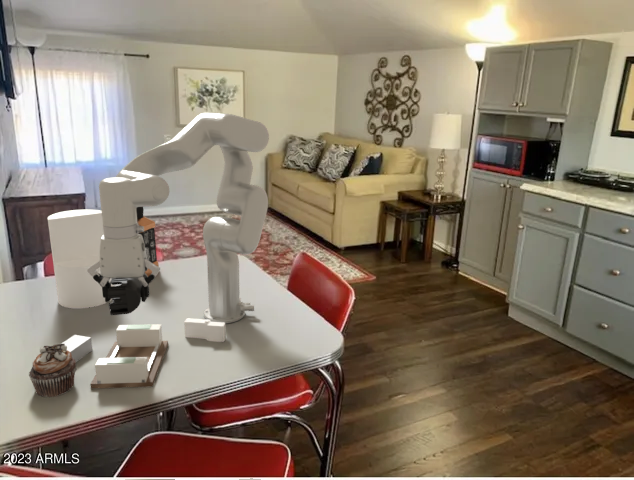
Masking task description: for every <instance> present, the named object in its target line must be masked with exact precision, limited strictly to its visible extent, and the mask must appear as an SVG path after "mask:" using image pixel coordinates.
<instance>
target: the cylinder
mask: <svg viewBox="0 0 634 480" xmlns="http://www.w3.org/2000/svg"><path fill="white" fill-rule="evenodd" d="M46 219H47V225H48V233H49V240H50V248H51V257H52V263H53V271H54V273H53V274H54V279H55V285H56V286H55V287H56V295H57V302H58V304H59V305H60V306H62V307H63V306H64V308H66V309H68V308H69V309H89V307H90V308H94V306H95V307H99V306H102V305H104V304H107V303H108V302H105V298H103V292H102V287H101V286H100V284H99V283H98V282H96V281H95V280H94V279H93V277H92V276H91V275H90V274H89V273H88V271H87V270H88V269H89V268H90V267H91V266H93V265H94V264H95V263H97V262H98V261H100V243H101V237H102V236H103V235H104V233H103V223H102V212H101V209H100V210H99V209H86V208H85V209H73V210H72V209H71V210H64V211H59V212H56V213H53V214H50V215H48V216H47V218H46ZM96 271H97V272H98V273H99V274H100V275H101V272H100V268H98V269H97V270H96ZM110 281H111V278H110V279H109V282H110ZM112 286H116V285H112V284H111V287H112ZM111 301H113V300H112V298H111V299H110V301H109V302H111Z"/></svg>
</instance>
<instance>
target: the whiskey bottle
mask: <svg viewBox="0 0 634 480" xmlns="http://www.w3.org/2000/svg"><path fill="white" fill-rule="evenodd" d="M136 212H137V222H138V225H139V226H144V232H139V233H138V234H141V235H142V237H143V240H144V244H145V249H146V255H147V260H148V261H150V262H151V263H153V264H155V265H156V266H158V267H160V266H159V260H158V256H157V245H156V235H155V234H156V233H155V228H156V222H155V220H153V219H151V218H149V217H146V216H145V215H144V207H137V208H136ZM145 273H146V275H147V276H149V275H150V274H151V273H152V270H150V269H147V271H145Z"/></svg>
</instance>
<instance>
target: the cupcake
mask: <svg viewBox="0 0 634 480" xmlns="http://www.w3.org/2000/svg"><path fill="white" fill-rule="evenodd" d="M76 370H77V362H75V359H73V358H72V354H71V353H70V352H69V351H68V350H67V346H65V344H61V343H57V344H53V345H44V346H42V347H40V349H39V354H37V355H36V358H35V359H34V360H33V362H32V366H31V369H30V371H29V372H28V376H29V379H30V380H31V383H32V385H33V388H34V390H35V393H36V395H38V396H39V397H41V398H42V397H43V398H54V397H58V396H61V395H65V394H66V393H67V392H69V391H70V390H71V389H72V388H73V387H74V386H75V375H76V374H75V373H76Z"/></svg>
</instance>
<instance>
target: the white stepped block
mask: <svg viewBox="0 0 634 480" xmlns="http://www.w3.org/2000/svg"><path fill="white" fill-rule="evenodd" d="M183 322H184V338H190V339H191V338H192V339H205V341H208V342H218V343H224V342H225V340H226V334H227V333H226V332H227V330H226V323H224V322H211V320H208V319H205V318H204V319H203V318H188V317H187V318H186V319H185V320H184V321H183Z"/></svg>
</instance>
